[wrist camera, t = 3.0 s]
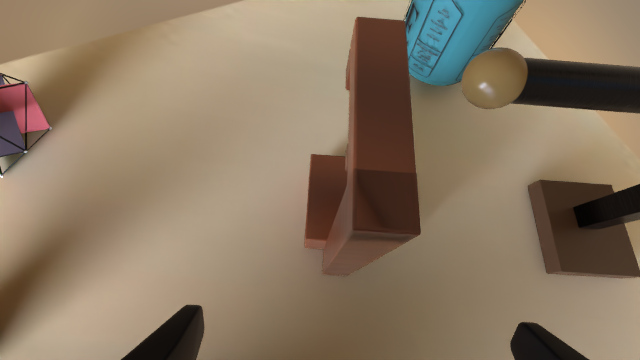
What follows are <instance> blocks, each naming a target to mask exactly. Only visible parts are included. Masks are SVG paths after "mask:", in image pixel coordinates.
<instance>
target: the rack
mask: <svg viewBox="0 0 640 360" xmlns="http://www.w3.org/2000/svg"><path fill="white" fill-rule="evenodd" d="M461 87H462V91H463V94H464V96H465V97H466V99H467V100H468V101H469V102H470V103H471V104H473V105H474V106H477V107H479V108H483V109H496V108H501V107H503V106H506V105H508V104H510V103H511V104H524V105H536V106H549V107H562V108H575V109H588V110H603V111H614V112H627V113H640V67H632V66H619V65H607V64H594V63H582V62H569V61H557V60H545V59H533V58H523V57H522V56H521V55H520V54H519V53H518V52H516V51H514V50H512V49H508V48H493V49H489V50H486V51H484V52H482V53H480V54H478V55H477V56H476V57H474V58H473V59H472V60H471V61H470V62H469V64H468V65H467V66H466V68H465V70H464V72H463V75H462V80H461ZM528 189H529V194H530V199H531V203H532V208H533V212H534V217H535V221H536V226H537V230H538V235H539V240H540V244H541V249H542V253H543V258H544V262H545V267H546V271H547V273H548V274H563V275H578V276H594V277H610V278H636V277H640V269H639V266H638V263H637V260H636V257H635V254H634V251H633V248H632V245H631V242H630V239H629V236H628V233H627V230H626V227H625V224H624V223H628V222H632V221H636V220H640V184H638V185H636V186H633V187H630V188H627V189H624V190H621V191H618V192H615V193H614V191H613V188H612V185H605V184H591V183H577V182H563V181H549V180H538V181H536V182H534V183H533V184H531V185H529V186H528Z"/></svg>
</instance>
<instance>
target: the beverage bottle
mask: <svg viewBox="0 0 640 360" xmlns="http://www.w3.org/2000/svg"><path fill="white" fill-rule="evenodd" d="M521 3H523V0H412V2H411V4H410V7H409V9H408V12H407V14H406V17H407V18H406V17H405V18H406V21H405V24H406V37H407V52H408V66H409V73H410V74H411V75H412V76H413V77H415V78H416V79H418V80H420V81H422V82H425V83H428V84H432V85H439V86H445V85H451V84H455V83H457V82H460V81H461V80H462V75H463V72H464V70H465V68H466V66H467V65H468V64H469V62H470V61H471V60H472V59H473V58H474V57H476V56H477V55H478V54H480V53H482V52H484V51H486V50H489V48H490V47H491V45H492V44H493V42H494V41H495V40H496V38H497V37H498V35H499V37H498V38H497V40H496V41H495V43H496V42H497V41H498V39H499V38H500V37H501V35H502V34H503V32H504V31H505V30H506V28H507V27H508V26H509V24H510V23H511V21H512V19H511V17H512V18H513V15H514V13H515V12H516V10H517V9H518V8H519V6H520V5H521ZM521 8H522V7H521ZM510 19H511V20H510ZM404 20H405V19H404ZM509 20H510V22H509ZM507 23H508V25H507V26H506V24H507ZM505 26H506V27H505ZM504 27H505V29H504ZM503 29H504V30H503ZM502 30H503V31H502ZM501 31H502V33H501ZM495 43H494V44H493V45H492V47H493V46H494V45H495ZM492 47H491V48H490V49H492Z"/></svg>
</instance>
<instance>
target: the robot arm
mask: <svg viewBox="0 0 640 360" xmlns="http://www.w3.org/2000/svg"><path fill="white" fill-rule="evenodd" d="M203 334H204V319H203V310H202V307H201V306H200V305H186V306H184V307H183V308H181V309H180V310H179V311H178V312H177V313H176V314H174V315H173V316H172V317H171V318H170V319H168V320H167V321H166V322H165V323H164V324H163V325H161V326H160V327H159V328H158V329H157V330H155V331H154V332H153V333H152V334H151V335H150V336H148V337H147V338H146V339H145V340H144V341H143V342H141V343H140V344H139V345H138V346H137V347H135V348H134V349H133V350H132V351H131V352H130V353H128V354H127V355H126V356H125V357H124V358H122V359H121V360H196V358H197V355H198V352H199V348H200V345H201V341H202V338H203ZM510 347H511V351H512V354H513V356H514V359H515V360H589V359H587V358H586V357H585V356H583V355H582V354H580V353H579V352H577V351H576V350H574V349H573V348H572V347H570V346H569V345H567V344H566V343H564V342H563V341H562V340H560V339H559V338H557V337H556V336H554V335H553V334H552V333H550V332H549V331H547V330H546V329H544V328H543V327H542V326H540V325H538V324H537V323H532V322H521V323H519V324H518V326H517V328H516V331H515V333H514V335H513V337H512V339H511V343H510Z"/></svg>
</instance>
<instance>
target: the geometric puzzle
mask: <svg viewBox="0 0 640 360" xmlns="http://www.w3.org/2000/svg"><path fill="white" fill-rule="evenodd" d="M4 76H6V77H9V78H12V79H15V78H13V77H10V76H7V75H4V74H2V73H0V157H3V156H8V155H13V154H18V153H23V152H24V153H23V154H22V155H21V156H23V155H24V154H25V153H27V152H28V150H29V149H30V148H31V147H32V146H33V145H34V144H35V143H36V142H37V141H38V140H39V139H40V138H41V137H42V136H43V135H44V134H45V133H47V132H48V131H49V130H50V129H52V127H50V126H49V124H48V122H47V120H46V118H45V116H44V114H43V112H42V111H41V109H40V107H39V105H38V103H37V101H36V99H35V98H34V96H33V94H32V92H31V90H30V88H29V86H28V85H27V84H28V82H27V81H25V82H24V81H21V80H18V79H15V80H18V81H21V82H23V83H17V84H10V83H9V82H8V81H7V79H6V78H5V77H4ZM3 78H4V79H5V80H6V81H7V82H8V83H9V84H7V85H5V83H4V80H3ZM44 129H49V130H48V131H47V132H45V133H44V134H43V135H42V136H41V137H40V138H39V139H38V140H37V141H36V142H35V143H34V144H33V145H32V146H31V147H30V148H29V149H28V150H27V132H32V131H38V130H44ZM21 133H25V145H24V142H23V139H22V136H21ZM21 156H20V157H21ZM20 157H19V158H20ZM19 158H18V159H19ZM18 159H17V160H18ZM17 160H16V161H17ZM16 161H15V162H16ZM15 162H14V163H15ZM14 163H13V164H14ZM13 164H12V165H13ZM12 165H11V166H12ZM11 166H10V167H11ZM10 167H9V168H10ZM9 168H8V169H9ZM8 169H7V170H8ZM7 170H6V171H7ZM6 171H5V172H6ZM5 172H4V173H5ZM4 173H3V174H4ZM3 174H2V171H1V167H0V176H1V177H3Z"/></svg>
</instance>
